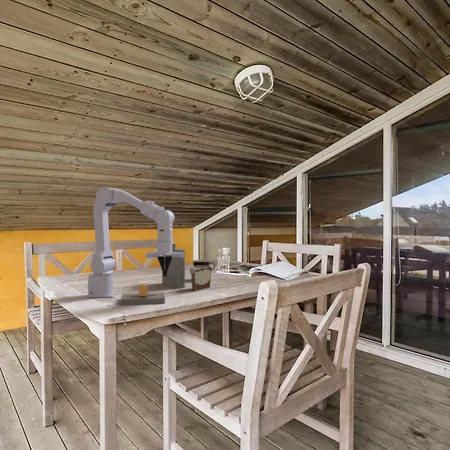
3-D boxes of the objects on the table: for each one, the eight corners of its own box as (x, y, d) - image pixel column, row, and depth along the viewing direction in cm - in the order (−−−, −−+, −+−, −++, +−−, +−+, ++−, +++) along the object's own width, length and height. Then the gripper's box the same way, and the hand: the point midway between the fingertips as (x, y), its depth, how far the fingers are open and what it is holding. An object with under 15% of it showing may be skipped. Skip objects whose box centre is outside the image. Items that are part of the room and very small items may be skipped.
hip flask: (186, 287, 161) (186, 244, 161) (179, 288, 158) (179, 244, 158) (166, 282, 173) (166, 242, 172) (159, 283, 170) (159, 242, 169)
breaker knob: (139, 296, 132) (139, 283, 131) (139, 293, 136) (139, 281, 136) (147, 296, 132) (147, 283, 132) (147, 293, 137) (147, 281, 137)
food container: (202, 285, 166) (202, 264, 165) (212, 287, 162) (212, 266, 162) (183, 289, 156) (183, 267, 156) (193, 291, 152) (193, 268, 152)
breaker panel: (120, 305, 128) (120, 299, 128) (122, 298, 138) (122, 293, 138) (164, 303, 131) (164, 297, 131) (163, 297, 141) (163, 292, 141)
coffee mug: (192, 281, 177) (192, 261, 177) (193, 278, 186) (193, 259, 186) (215, 281, 178) (215, 261, 177) (215, 278, 186) (215, 259, 186)
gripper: (145, 242, 130) (145, 278, 130) (184, 241, 133) (184, 277, 133) (145, 240, 137) (145, 275, 137) (182, 240, 140) (182, 274, 140)
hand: (164, 276), depth 136 cm, fingers closed
